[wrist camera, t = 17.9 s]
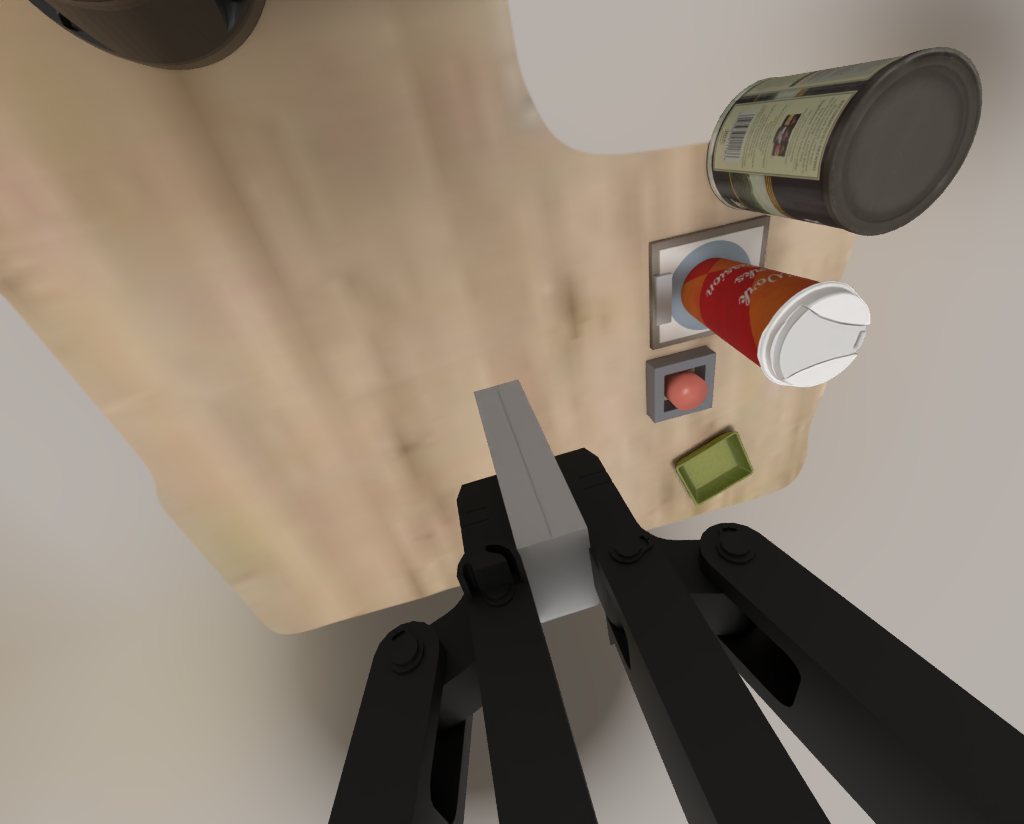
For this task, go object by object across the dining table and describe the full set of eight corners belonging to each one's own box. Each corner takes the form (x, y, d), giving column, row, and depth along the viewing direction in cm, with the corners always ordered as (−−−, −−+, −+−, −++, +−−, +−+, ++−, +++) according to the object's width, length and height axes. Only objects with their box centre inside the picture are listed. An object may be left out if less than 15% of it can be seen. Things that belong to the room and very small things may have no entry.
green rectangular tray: (745, 463, 62) (755, 473, 60) (689, 497, 63) (697, 507, 61) (727, 421, 57) (737, 430, 55) (666, 458, 58) (675, 468, 57)
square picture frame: (649, 242, 43) (655, 245, 42) (765, 215, 44) (775, 217, 43) (650, 347, 49) (655, 352, 48) (753, 321, 50) (760, 325, 49)
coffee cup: (756, 243, 44) (896, 283, 31) (735, 324, 48) (851, 388, 36) (676, 246, 43) (790, 289, 30) (662, 329, 47) (757, 398, 34)
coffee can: (808, 189, 43) (959, 208, 32) (707, 224, 43) (822, 256, 31) (819, 58, 38) (1007, 21, 26) (703, 97, 38) (841, 78, 26)
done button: (661, 372, 50) (673, 383, 48) (694, 363, 50) (709, 374, 48) (661, 402, 52) (673, 414, 50) (693, 393, 53) (707, 405, 50)
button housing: (646, 361, 50) (654, 369, 48) (705, 345, 50) (716, 353, 48) (646, 413, 53) (654, 422, 52) (702, 399, 54) (712, 407, 52)
